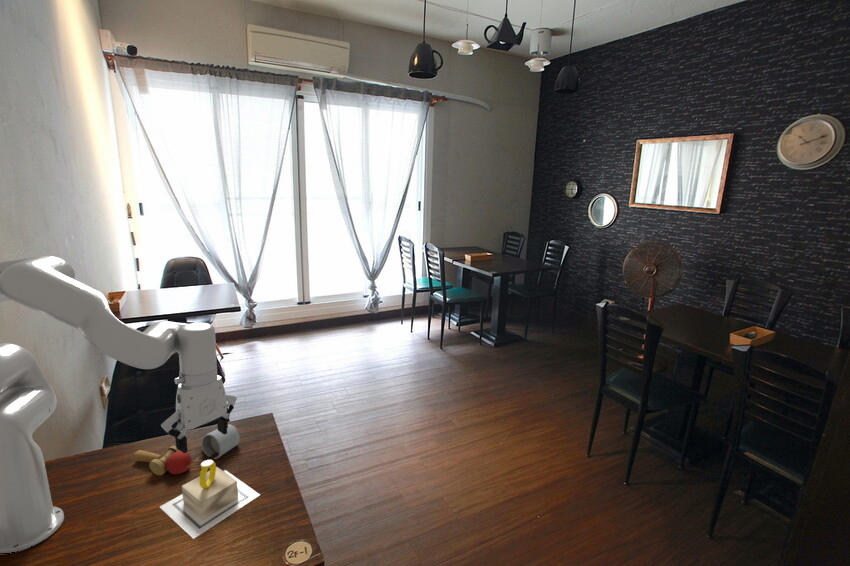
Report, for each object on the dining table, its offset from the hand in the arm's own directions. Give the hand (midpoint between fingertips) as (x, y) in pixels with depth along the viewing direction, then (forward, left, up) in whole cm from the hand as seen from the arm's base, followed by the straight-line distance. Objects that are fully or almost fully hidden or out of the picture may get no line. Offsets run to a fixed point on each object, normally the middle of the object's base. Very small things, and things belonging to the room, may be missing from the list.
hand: (203, 441), depth 100 cm
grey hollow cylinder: (+13, +18, -18) cm, 28 cm away
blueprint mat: (0, 0, -17) cm, 17 cm away
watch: (0, 0, -12) cm, 12 cm away
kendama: (-1, +23, -18) cm, 29 cm away
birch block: (0, 0, -17) cm, 17 cm away
